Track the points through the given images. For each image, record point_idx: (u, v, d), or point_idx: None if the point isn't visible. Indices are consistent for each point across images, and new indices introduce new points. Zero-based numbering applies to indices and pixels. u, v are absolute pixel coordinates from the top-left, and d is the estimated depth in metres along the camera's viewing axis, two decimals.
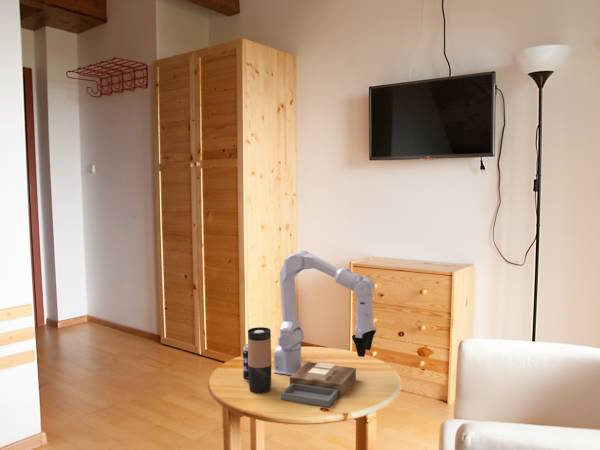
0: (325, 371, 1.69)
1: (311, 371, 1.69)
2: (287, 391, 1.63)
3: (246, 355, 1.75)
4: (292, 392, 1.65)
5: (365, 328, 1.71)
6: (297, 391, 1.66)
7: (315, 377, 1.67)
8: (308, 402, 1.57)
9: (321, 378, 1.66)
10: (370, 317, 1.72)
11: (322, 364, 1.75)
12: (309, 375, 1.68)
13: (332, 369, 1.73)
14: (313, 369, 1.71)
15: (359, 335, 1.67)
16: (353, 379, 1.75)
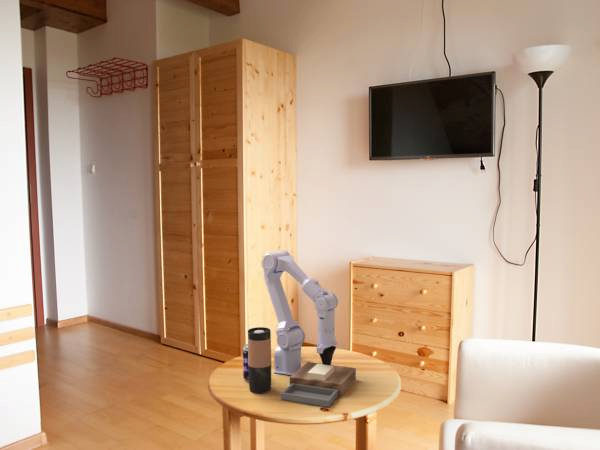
0: (325, 371, 1.69)
1: (311, 371, 1.69)
2: (287, 391, 1.63)
3: (246, 355, 1.75)
4: (292, 392, 1.65)
5: (327, 343, 1.73)
6: (297, 391, 1.66)
7: (315, 377, 1.67)
8: (308, 402, 1.57)
9: (321, 378, 1.66)
10: (332, 332, 1.73)
11: (320, 366, 1.74)
12: (309, 375, 1.68)
13: (330, 371, 1.71)
14: (313, 369, 1.71)
15: (320, 350, 1.69)
16: (353, 379, 1.75)
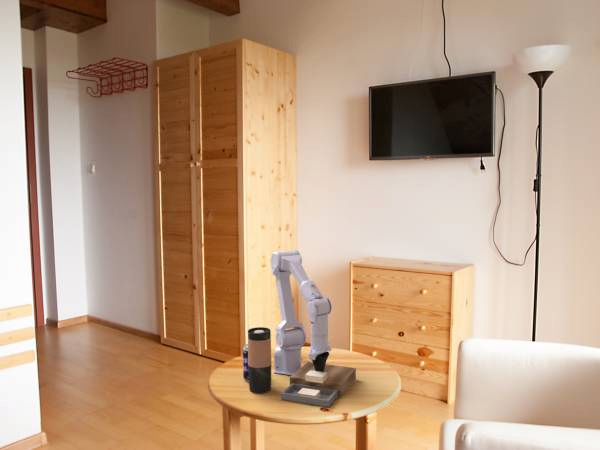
0: None
1: None
2: (287, 391, 1.63)
3: (246, 355, 1.75)
4: (292, 392, 1.65)
5: (319, 349, 1.66)
6: (297, 391, 1.66)
7: None
8: (308, 402, 1.57)
9: None
10: (325, 338, 1.67)
11: (313, 372, 1.68)
12: None
13: (324, 378, 1.65)
14: None
15: (312, 357, 1.62)
16: (353, 379, 1.75)
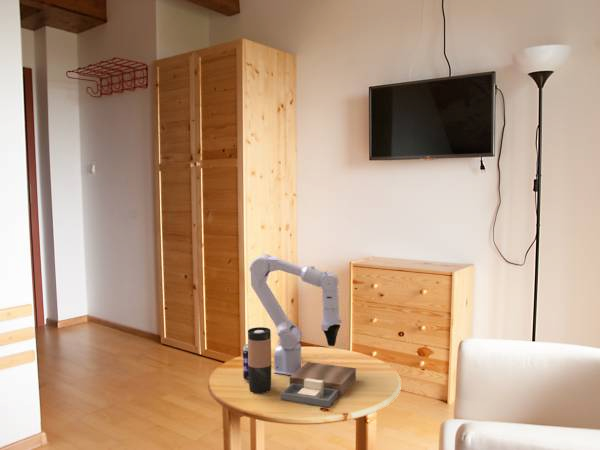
0: None
1: None
2: (287, 391, 1.63)
3: (246, 355, 1.75)
4: (292, 392, 1.65)
5: (331, 321, 1.79)
6: (297, 391, 1.66)
7: None
8: (308, 402, 1.57)
9: None
10: (336, 311, 1.79)
11: (309, 386, 1.63)
12: None
13: (322, 391, 1.63)
14: None
15: (325, 328, 1.75)
16: (353, 379, 1.75)
